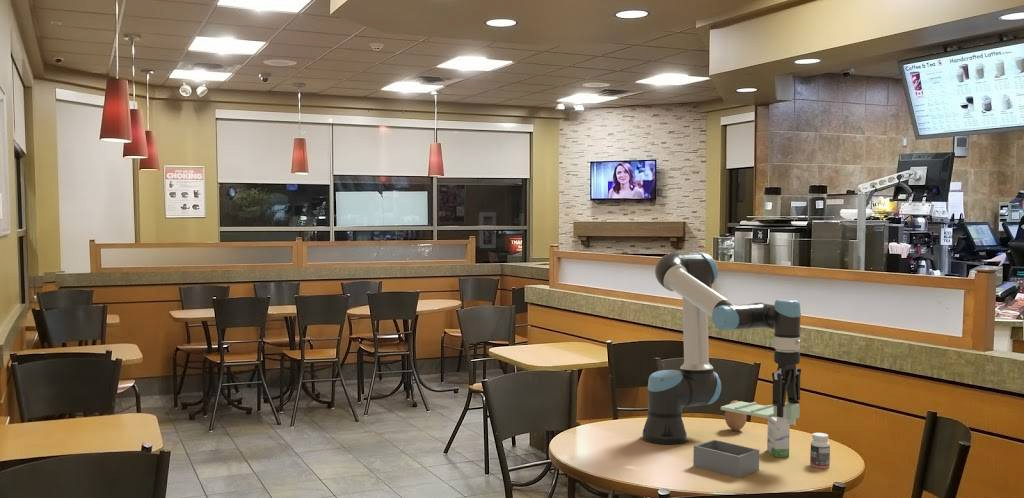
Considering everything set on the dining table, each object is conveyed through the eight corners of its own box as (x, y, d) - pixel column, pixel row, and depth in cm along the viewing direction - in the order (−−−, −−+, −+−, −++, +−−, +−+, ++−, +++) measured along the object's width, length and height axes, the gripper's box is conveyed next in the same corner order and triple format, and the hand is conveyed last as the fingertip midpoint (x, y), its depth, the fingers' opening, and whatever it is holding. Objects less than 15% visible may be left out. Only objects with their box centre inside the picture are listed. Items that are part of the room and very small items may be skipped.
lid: (720, 409, 270) (720, 397, 270) (740, 404, 278) (740, 392, 278) (785, 421, 254) (785, 408, 254) (805, 415, 262) (805, 403, 262)
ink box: (789, 457, 274) (790, 421, 273) (774, 457, 274) (775, 421, 273) (781, 450, 282) (781, 414, 282) (766, 449, 282) (767, 414, 282)
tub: (693, 468, 261) (693, 445, 261) (713, 461, 268) (714, 439, 268) (739, 480, 249) (739, 456, 249) (758, 472, 257) (759, 449, 256)
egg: (742, 427, 312) (742, 398, 311) (749, 432, 304) (749, 402, 304) (722, 427, 311) (722, 398, 311) (728, 433, 304) (728, 402, 303)
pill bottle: (807, 463, 267) (807, 432, 266) (824, 463, 267) (825, 431, 267) (815, 468, 261) (815, 437, 261) (832, 468, 262) (833, 436, 261)
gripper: (783, 354, 250) (782, 433, 251) (813, 348, 263) (812, 423, 264) (760, 352, 256) (759, 428, 257) (790, 346, 268) (789, 419, 269)
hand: (786, 425), depth 260 cm, fingers closed on lid, 5 cm apart
